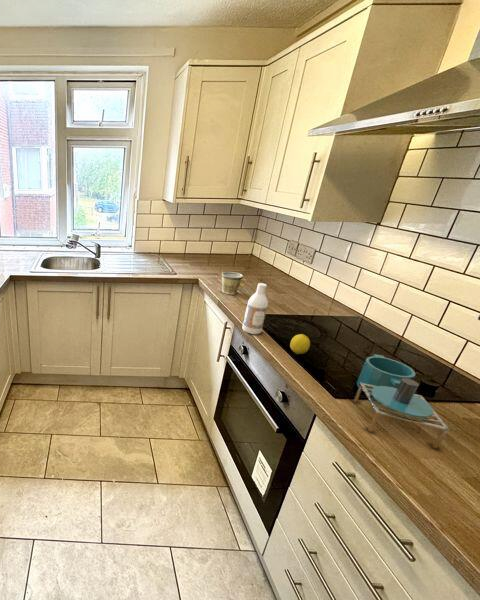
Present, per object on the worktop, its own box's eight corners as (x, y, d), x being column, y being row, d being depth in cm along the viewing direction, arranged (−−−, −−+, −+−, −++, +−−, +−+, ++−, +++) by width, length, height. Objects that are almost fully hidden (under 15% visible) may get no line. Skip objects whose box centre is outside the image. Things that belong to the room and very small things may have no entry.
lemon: (305, 352, 112) (312, 333, 109) (306, 360, 108) (313, 339, 105) (287, 348, 115) (293, 329, 112) (287, 355, 111) (293, 335, 107)
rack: (412, 413, 84) (421, 395, 82) (438, 449, 73) (450, 429, 71) (352, 399, 89) (359, 382, 87) (368, 431, 78) (377, 412, 76)
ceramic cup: (215, 292, 168) (218, 274, 165) (223, 287, 175) (227, 270, 171) (239, 299, 159) (243, 280, 156) (248, 294, 166) (252, 276, 162)
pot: (390, 380, 98) (401, 356, 95) (414, 412, 85) (428, 387, 81) (349, 371, 102) (358, 349, 99) (366, 401, 89) (377, 376, 85)
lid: (418, 396, 82) (429, 375, 79) (441, 425, 72) (455, 402, 70) (364, 384, 86) (372, 364, 83) (379, 411, 77) (390, 389, 74)
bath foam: (245, 334, 125) (256, 287, 117) (239, 326, 131) (249, 281, 124) (263, 335, 124) (276, 287, 117) (256, 327, 131) (267, 281, 123)
